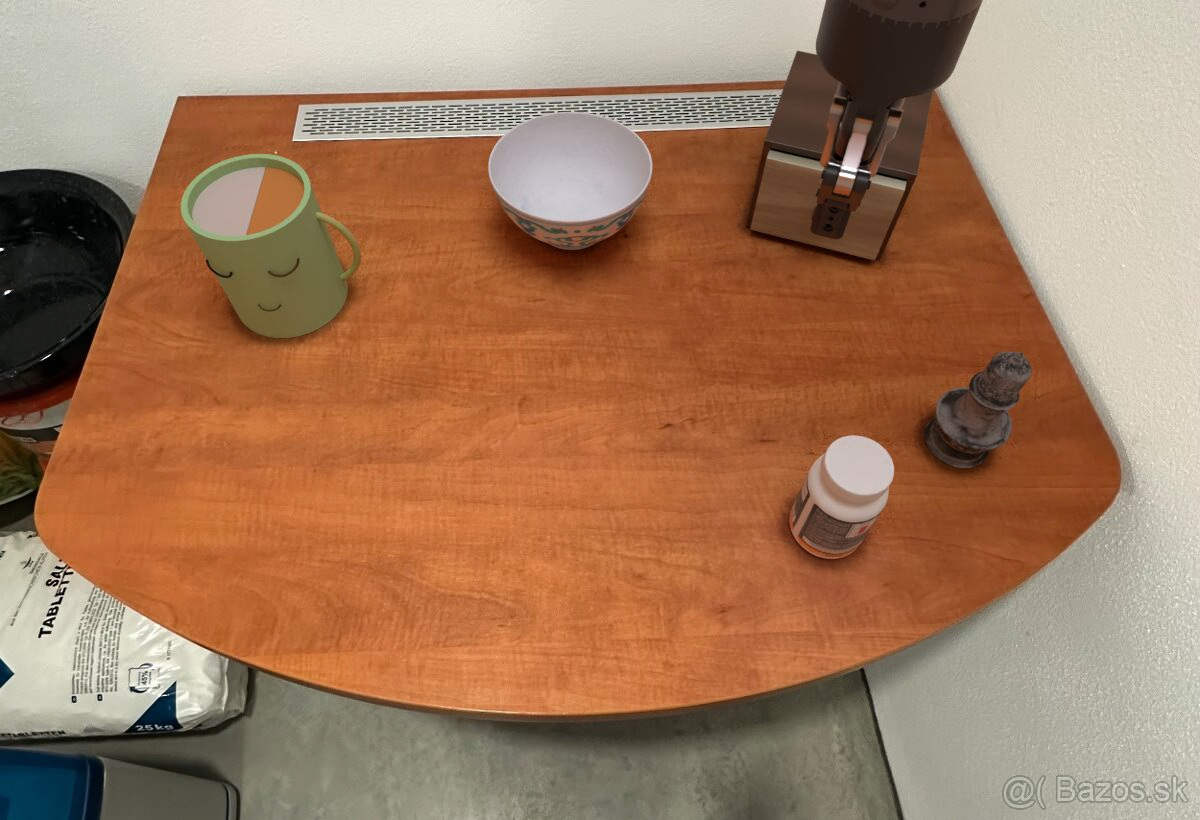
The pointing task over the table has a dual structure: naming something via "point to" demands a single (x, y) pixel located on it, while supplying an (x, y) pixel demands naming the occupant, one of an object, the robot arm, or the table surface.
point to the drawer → (793, 203)
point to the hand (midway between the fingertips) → (827, 229)
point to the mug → (269, 243)
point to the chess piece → (978, 412)
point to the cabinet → (806, 131)
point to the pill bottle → (842, 497)
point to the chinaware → (570, 177)
